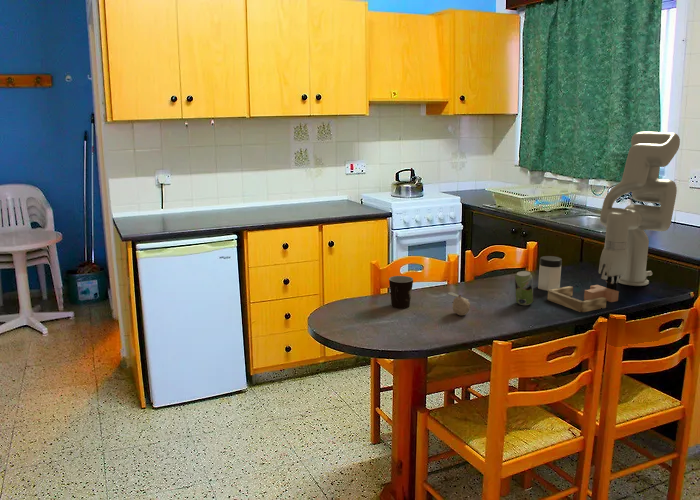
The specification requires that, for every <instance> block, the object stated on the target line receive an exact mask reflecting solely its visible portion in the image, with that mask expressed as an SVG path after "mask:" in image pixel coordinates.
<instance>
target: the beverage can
mask: <svg viewBox="0 0 700 500" xmlns="http://www.w3.org/2000/svg"><path fill="white" fill-rule="evenodd" d="M514 280H515V281H514V282H515V283H514V284H515V288H514V289H515V301H516V303H517V304H519V305H521V306H529V305H531V304H532V303H533V302H534V285H533V283H534V282H533V275H532V274H531V272H530V271H528V270H520V271H518V272H516V275H515V276H514Z"/></svg>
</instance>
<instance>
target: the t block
mask: <svg viewBox="0 0 700 500" xmlns="http://www.w3.org/2000/svg"><path fill="white" fill-rule="evenodd" d="M619 293H620V291H619V290H617V289H616V290H612V289H609V288H607V286H606V287H605V286H602V285H599V284H594V285H590V287H589V289H584V294H583V301H585V300H590V299H596V298H601V297H604V298H607V300H606V302H609V303H614V302H618V301H619Z"/></svg>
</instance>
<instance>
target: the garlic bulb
mask: <svg viewBox="0 0 700 500" xmlns="http://www.w3.org/2000/svg"><path fill="white" fill-rule="evenodd" d="M458 295H459V296H458V297H456V296H455V298H454V299H453V301H452V306H451V307H452V311H453V312H454V313H455V314H456V315H458V316H460V317H461V316H465V315H467V314H468V313H469V311H470V308H471V303H470V300H469V299H468V300H466V299H467V298H466V299H465V297H463V296H462V295H461V294H458ZM462 297H463V298H462Z"/></svg>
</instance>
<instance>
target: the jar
mask: <svg viewBox="0 0 700 500" xmlns="http://www.w3.org/2000/svg"><path fill="white" fill-rule="evenodd" d="M562 260H563V259H562V258H561V257H559V256H553V255H545V256H540V258H539V270H538V271H539V272H538V281H537V283H538V284H537V288H538V289H539V290H542V291H547V292H548V290H550V289H556V288H561V277H562V276H561V274H562V264H563V261H562Z"/></svg>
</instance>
